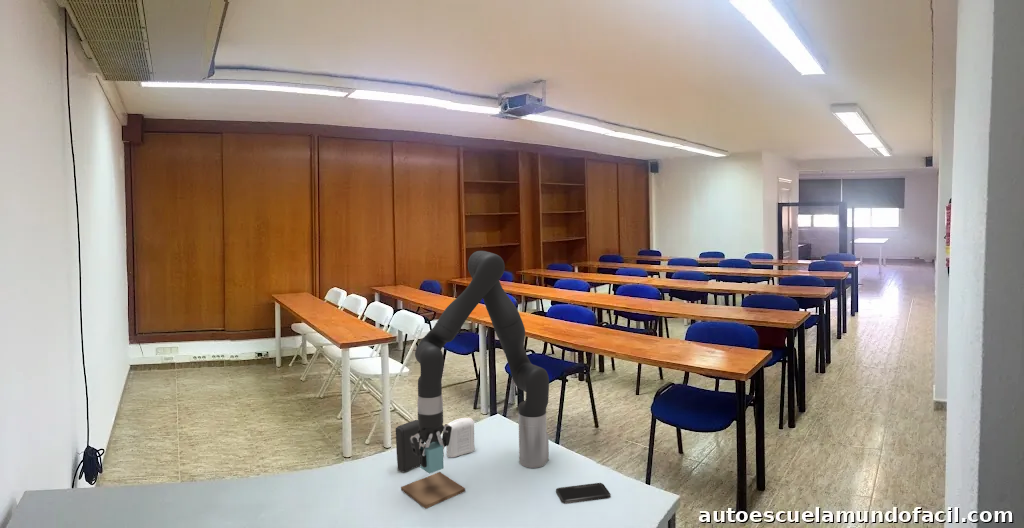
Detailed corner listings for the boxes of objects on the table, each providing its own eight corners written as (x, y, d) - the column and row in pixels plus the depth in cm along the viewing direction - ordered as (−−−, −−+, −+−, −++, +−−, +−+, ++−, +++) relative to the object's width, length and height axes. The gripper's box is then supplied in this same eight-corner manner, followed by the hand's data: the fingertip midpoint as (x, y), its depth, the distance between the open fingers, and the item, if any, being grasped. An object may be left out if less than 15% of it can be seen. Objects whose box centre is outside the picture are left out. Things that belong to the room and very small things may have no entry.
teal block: (434, 462, 167) (433, 440, 166) (443, 468, 163) (443, 446, 162) (420, 467, 164) (419, 445, 163) (429, 473, 160) (428, 451, 159)
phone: (611, 495, 159) (562, 501, 156) (611, 499, 159) (562, 505, 156) (601, 482, 166) (554, 487, 163) (601, 485, 166) (554, 491, 163)
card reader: (419, 460, 185) (417, 417, 183) (426, 463, 182) (424, 420, 180) (396, 469, 178) (394, 426, 176) (403, 473, 175) (401, 429, 174)
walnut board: (439, 474, 174) (439, 471, 174) (465, 491, 164) (465, 488, 164) (401, 490, 165) (401, 487, 165) (425, 508, 155) (425, 505, 154)
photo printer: (470, 447, 194) (469, 413, 193) (476, 451, 190) (475, 417, 189) (444, 454, 188) (443, 420, 187) (450, 459, 185) (449, 424, 183)
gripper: (443, 400, 169) (444, 452, 171) (402, 411, 160) (404, 466, 161) (457, 406, 163) (458, 460, 165) (416, 418, 154) (417, 475, 156)
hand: (431, 463), depth 163 cm, fingers closed on teal block, 5 cm apart
